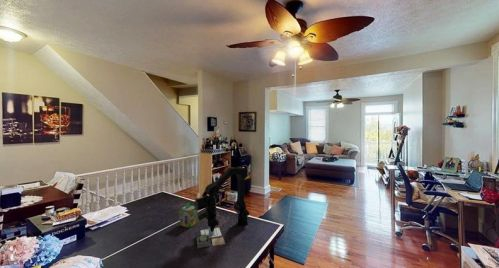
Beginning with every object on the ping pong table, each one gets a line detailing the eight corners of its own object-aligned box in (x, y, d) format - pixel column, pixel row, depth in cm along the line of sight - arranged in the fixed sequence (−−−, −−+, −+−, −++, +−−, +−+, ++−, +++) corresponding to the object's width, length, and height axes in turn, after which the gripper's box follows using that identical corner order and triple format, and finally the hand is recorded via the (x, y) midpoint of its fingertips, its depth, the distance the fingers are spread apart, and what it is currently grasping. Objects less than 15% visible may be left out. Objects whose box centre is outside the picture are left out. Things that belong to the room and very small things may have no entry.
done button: (206, 239, 120) (206, 234, 120) (207, 242, 116) (207, 237, 116) (199, 240, 118) (199, 235, 118) (200, 244, 115) (200, 238, 115)
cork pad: (223, 237, 123) (223, 237, 123) (225, 244, 117) (225, 243, 117) (211, 239, 121) (211, 239, 121) (213, 246, 114) (213, 245, 114)
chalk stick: (214, 231, 129) (213, 219, 129) (214, 234, 125) (214, 221, 125) (208, 232, 128) (208, 220, 127) (208, 235, 124) (208, 222, 124)
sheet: (219, 228, 135) (219, 227, 134) (221, 236, 125) (221, 235, 125) (200, 231, 131) (200, 230, 131) (201, 239, 121) (201, 238, 121)
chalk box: (189, 228, 135) (189, 206, 134) (179, 225, 138) (178, 204, 138) (198, 222, 143) (198, 201, 142) (188, 219, 147) (187, 199, 146)
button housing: (208, 239, 122) (208, 235, 122) (210, 245, 115) (210, 241, 115) (196, 241, 119) (196, 237, 119) (197, 248, 113) (197, 243, 113)
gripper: (197, 201, 132) (197, 225, 133) (199, 213, 115) (199, 240, 115) (214, 200, 136) (214, 222, 136) (218, 211, 118) (218, 237, 119)
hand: (211, 230), depth 127 cm, fingers closed on chalk stick, 4 cm apart
